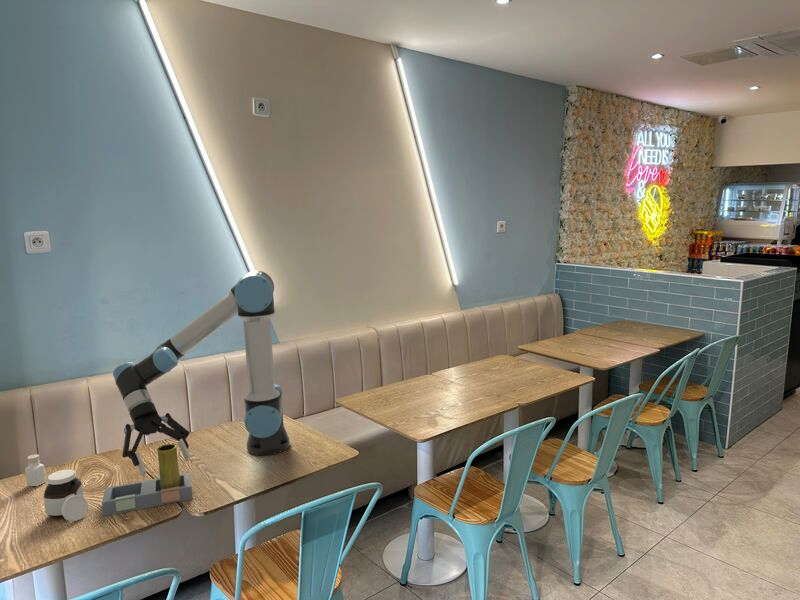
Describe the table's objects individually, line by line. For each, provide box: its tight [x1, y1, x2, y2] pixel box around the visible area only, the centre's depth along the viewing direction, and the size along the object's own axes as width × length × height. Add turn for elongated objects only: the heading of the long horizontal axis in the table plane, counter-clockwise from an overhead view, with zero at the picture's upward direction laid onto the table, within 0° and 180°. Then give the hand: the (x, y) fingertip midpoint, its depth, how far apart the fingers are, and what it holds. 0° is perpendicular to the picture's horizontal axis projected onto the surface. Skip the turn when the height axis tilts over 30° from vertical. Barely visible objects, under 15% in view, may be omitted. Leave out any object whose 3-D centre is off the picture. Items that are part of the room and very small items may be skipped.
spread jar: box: [43, 469, 89, 522], centre depth 166 cm, size 12×11×12 cm
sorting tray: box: [101, 472, 193, 517], centre depth 174 cm, size 24×10×4 cm, turn 111°
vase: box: [156, 443, 181, 491], centre depth 176 cm, size 6×6×14 cm
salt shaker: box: [24, 453, 47, 487], centre depth 186 cm, size 4×4×10 cm
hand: (167, 466), depth 175 cm, fingers open, 13 cm apart
